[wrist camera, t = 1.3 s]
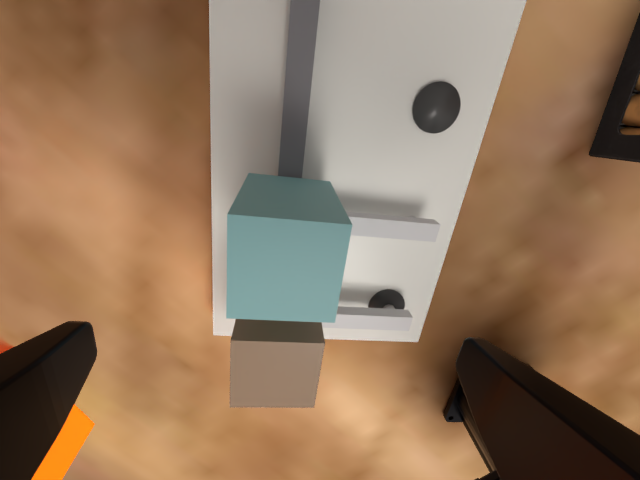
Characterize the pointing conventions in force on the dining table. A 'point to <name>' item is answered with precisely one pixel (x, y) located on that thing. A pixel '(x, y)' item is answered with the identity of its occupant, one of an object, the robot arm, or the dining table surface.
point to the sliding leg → (297, 247)
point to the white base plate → (349, 153)
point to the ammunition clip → (622, 110)
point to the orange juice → (65, 446)
